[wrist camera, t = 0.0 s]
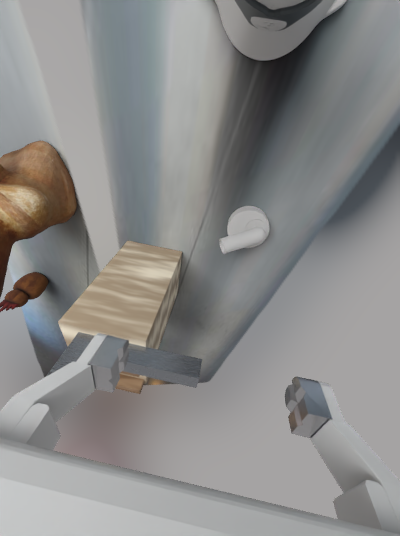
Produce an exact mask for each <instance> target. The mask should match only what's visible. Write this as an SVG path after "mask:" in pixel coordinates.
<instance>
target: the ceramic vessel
mask: <svg viewBox="0 0 400 536" xmlns="http://www.w3.org/2000/svg"><path fill="white" fill-rule="evenodd" d="M76 206H77V203H76V198H75V188H74V184H73V181H72V178H71V176H70V174H69V172H68V170H67V168H66V167H65V165H64V163H63V162H62V160H61V158H60V156H59V155H58V153H57V151H56V150H55V149H54V148H53V147H52V146H51V145H50V144H49V143H47V142H45V141H37V142H33V143H30V144H28V145H26V146H25V147H24V148H22V149H19V150H17V151H13V152H10V153H8V154H5V155H3V156H2V157H1V158H0V297H1V294H2V290H3V285H4V279H5V275H6V271H7V265H8V260H9V256H10V252H11V248H12V245H13V244H14V243H15V242H16V241H19V240H22V239H28V238H32V237H34V236H35V235H37V234H38V233H40V232H42V231H44V230H45V229H47V228H48V227H50V226H53V225H56V224H60V223H64V222H67V221H68V220H69V219H70V218H71V217H72V215H73V214H74V213H75V210H76Z"/></svg>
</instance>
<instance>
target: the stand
mask: <svg viewBox="0 0 400 536" xmlns="http://www.w3.org/2000/svg"><path fill="white" fill-rule="evenodd" d="M181 258H182V252H181V251H176V250H171V249H166V248H161V247H156V246H152V245H147V244H142V243H137V242H132V241H127V242H126V243H125V244H124V246H123V247H122V248H121V249H120V250H119V251H118V253H117V254H116V255H115V256H114V257H113V258H112V260H111V261H110V262H109V263H108V264H107V265H106V267H105V268H104V269H103V270H102V271H101V272H100V274H99V275H98V276H97V277H96V278H95V279H94V281H93V282H92V283H91V284H90V285H89V286H88V288H87V289H86V290H85V291H84V292H83V293H82V295H81V296H80V297H79V298H78V299H77V300H76V302H75V303H74V304H73V305H72V306H71V307H70V309H69V310H68V311H67V312H66V313H65V314H64V316H63V317H62V318H61V319H60V320H59V321H58V323H59V326H60V328H61V331H62V333H63V336H64V338H65V341H66V343H67V346H69V344H70V343H71V342H72V340H73V339H74V338H75V336H76V335H77V333H78V332H81V333H85V334H90V335H94V336H95V335H96V334H98V333H101V334H106V335H110V336H114V337H118V338H122V339H126V340H129V343H130V344H135V345H139V346H144V347H149V348H153V349H158V348H159V346H160V343H161V340H162V337H163V334H164V331H165V328H166V325H167V322H168V319H169V316H170V313H171V310H172V308H173V305H174V302H175V299H176V296H177V293H178V285H179V276H180V267H181ZM148 378H149V377H146V376H142V375H137V374H133V373H129V372H124V371H122V372H120V379H119V381H118V383H117V386H116V389H121V390H125V391H130V392H133V393H138V394H140V393H141V390H142V387H143V384H144V383H146V384H147V381H148Z"/></svg>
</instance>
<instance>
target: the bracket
mask: <svg viewBox="0 0 400 536" xmlns="http://www.w3.org/2000/svg"><path fill="white" fill-rule="evenodd" d="M93 338H94V335H90V334H85V333H81V332H78V333H77V335H76V336H75V338H74V339H73V340H72V342H71V343H70V344H69V346H68V347H67V349H66V350H65V351H64V353H63V354H62V355H61V357H60V358H59V360H58V361H57V362H56V364H55V365H54V366H53V368H52V369H51V371H50V372H49V373H48V375H50V374H52V373H54V372H55V371H57V370H59V369H61V368H62V367H64V366H66V365H67V364H69V363H71V362H73V361H74V362H76V361H77V360H78V359H79V357H80V356H81V354H82V353H83V352H84V350H85V349H86V347H87V346H88V345H89V343H90V342H91V340H92V339H93ZM128 350H129V358H128V361H127V365H126V367H125V369H124V370H123V371H124V372H129V373H133V374H137V375H142V376H146V377H151V378H155V379H159V380H164V381H168V382H173V383H177V384H182V385H186V386H190V387H195V388H196V387H197V384H198V380H199V375H200V369H201V362H202V359H198V358H194V357H189V356H185V355H180V354H176V353H171V352H167V351H162V350H158V349H153V348H149V347H144V346H139V345H135V344H130V343H129V346H128ZM48 375H47V376H48ZM47 376H46V377H47Z"/></svg>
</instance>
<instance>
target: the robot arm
mask: <svg viewBox="0 0 400 536" xmlns="http://www.w3.org/2000/svg"><path fill="white" fill-rule="evenodd" d="M214 1H215V2H216V4H217V7H218V10H219V13H220V17H221V21H222V24H223V27H224V29H225V32H226V34H227V36H228V38H229V39H230V41H231V42H232V44H233V45H234V46H235V47H236V48H237V49H238V50H239V51H240V52H241V53H242V54H244V55H245V56H247V57H249V58H252V59H255V60H261V61H266V60H273V59H276V58H279V57H282V56H284V55H286V54H287V53H289V52H291V51H292V50H293V49H295V48H296V47H297V46H298V45H299V44H301V43H302V42H303V41H304V40H305V38H306V37H307V36H308V35H309V34H310V33H311V31H312V30H313V29H314V28H315V27H316V25H317V24H318V23H319V22H320V21H321V20H322V19H324V18H326V17H327V16H329V15H331V14H332V13H334V12H335V11H337V10H338V9H339V8H341V7H342V6H343V5H344V4H345V2H346V1H347V0H214ZM128 346H129V340H126V339H122V338H118V337H114V336H110V335H106V334H101V333H98V334H96V335H95V336H94V338H93V339H92V340H91V342H90V343H89V345H88V346H87V347H86V349H85V350H84V352H83V353H82V354H81V356H80V357H79V359H78V360H77V361H76V362H74V361H73V362H71V363H69V364H67V365H66V366H64V367H62V368H61V369H59V370H57V371H55V372H54V373H52V374H50V375H48V376H47V377H45V378H43V379H41V380H40V381H38V382H36V383H35V384H33V385H31V386H29V387H28V388H26V389H24V390H23V391H21V392H19V393H18V394H16V395H14V396H13V397H12V398H11V399H10V400H9V402H8V403H7V404H6V405H5V406H4V407H3V408H2V410H1V411H0V536H400V480H399V479H398V478H397V477H396V476H395V475H394V474H393V472H392V471H391V470H390V469H389V468H388V467H387V466H386V464H385V463H384V462H383V461H382V460H381V459H380V458H379V457H378V456H377V454H376V453H375V452H374V451H373V450H372V449H371V448H370V447H369V445H368V444H367V443H366V442H365V441H364V440H363V439H362V438H361V436H360V435H359V434H358V433H357V432H356V431H355V430H354V429H353V427H352V426H351V425H350V424H348V423H346V422H345V420H344V417H343V415H342V412H341V410H340V407H339V405H338V402H337V400H336V397H335V395H334V392H333V390H332V387H331V386H330V385H329V384H328V383H323V382H318V381H315V380H311V379H306V378H300V377H294V378H293V380H292V383H293V384H292V385H289V386H288V387H287V389H286V393H285V402H286V407H287V408H288V410H289V411H290V412H291V413H290V415H289V417H288V418H289V423H290V428H291V433H292V434H296V435H300V436H304V437H308V438H311V441H312V443H313V445H314V446H315V448H316V449H317V451H318V452H319V454H320V456H321V457H322V459H323V460H324V462H325V464H326V465H327V467H328V469H329V470H330V472H331V473H332V475H333V476H334V478H335V480H336V481H337V483H338V485H339V486H340V488H341V489H342V491H343V494H342V495H340V496H338V497H337V498H335V500H334V501H333V503H334V506H335V510H336V514H337V517H338V519H334V518H330V517H326V516H322V515H318V514H314V513H310V512H305V511H301V510H297V509H293V508H288V507H285V506H281V505H276V504H272V503H268V502H264V501H260V500H256V499H252V498H247V497H243V496H239V495H235V494H231V493H227V492H222V491H218V490H214V489H210V488H206V487H202V486H197V485H194V484H189V483H185V482H181V481H177V480H173V479H169V478H164V477H160V476H156V475H152V474H148V473H144V472H140V471H136V470H131V469H127V468H123V467H118V466H115V465H111V464H107V463H102V462H98V461H94V460H90V459H86V458H82V457H77V456H73V455H69V454H65V453H61V452H57V451H53V449H54V447H55V445H56V444H57V442H58V440H59V438H60V432H59V430H58V427H57V425H56V422H57V421H58V420H59V419H61V418H62V417H63V416H64V415H66V414H67V413H68V412H69V411H70V410H72V409H73V408H74V407H75V406H77V405H78V404H79V403H80V402H81V401H82V400H84V399H85V398H86V397H87V396H88V395H90V394H91V393H92V392H93V391H95V389H99V390H104V391H109V392H114V389H115V388H116V386H117V383H118V381H119V379H120V372H122V371H123V370H124V369H125V367H126V365H127V361H128V358H129V350H128Z"/></svg>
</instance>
